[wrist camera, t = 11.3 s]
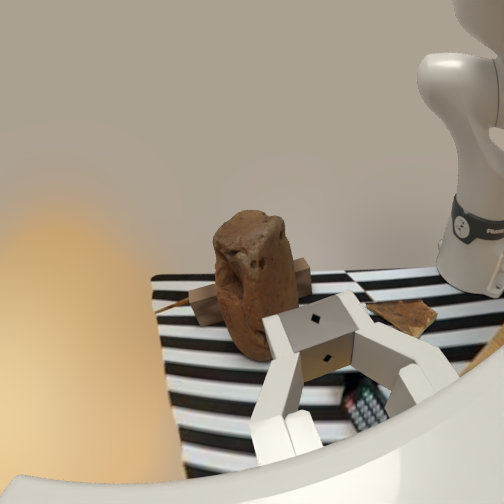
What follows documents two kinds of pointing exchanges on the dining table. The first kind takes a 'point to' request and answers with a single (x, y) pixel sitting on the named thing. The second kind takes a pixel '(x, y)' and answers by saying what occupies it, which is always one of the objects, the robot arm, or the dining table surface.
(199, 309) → the board
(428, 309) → the brown flat angular piece
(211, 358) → the dining table surface
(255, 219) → the weathered terracotta carving
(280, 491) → the robot arm
